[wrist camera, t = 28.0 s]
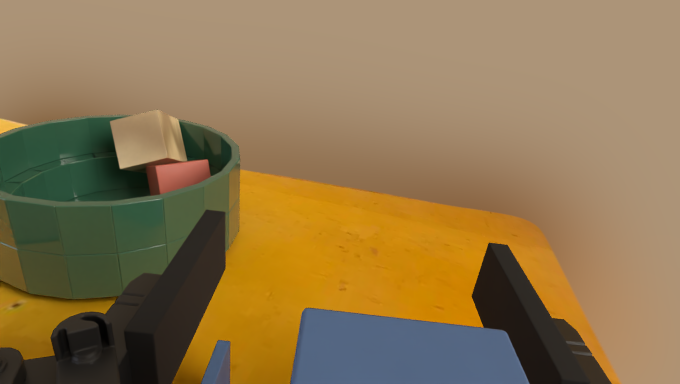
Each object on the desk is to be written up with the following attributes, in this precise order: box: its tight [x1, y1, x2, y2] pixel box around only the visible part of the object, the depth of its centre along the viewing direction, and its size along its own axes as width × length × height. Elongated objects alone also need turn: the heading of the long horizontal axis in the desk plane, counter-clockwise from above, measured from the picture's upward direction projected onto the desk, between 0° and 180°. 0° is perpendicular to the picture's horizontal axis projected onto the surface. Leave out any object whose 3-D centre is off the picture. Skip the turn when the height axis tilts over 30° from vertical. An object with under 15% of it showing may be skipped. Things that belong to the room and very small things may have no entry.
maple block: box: [110, 110, 187, 173], centre depth 35 cm, size 4×4×4 cm
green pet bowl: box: [0, 115, 240, 299], centre depth 32 cm, size 17×17×7 cm
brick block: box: [146, 159, 211, 196], centre depth 34 cm, size 4×4×4 cm
